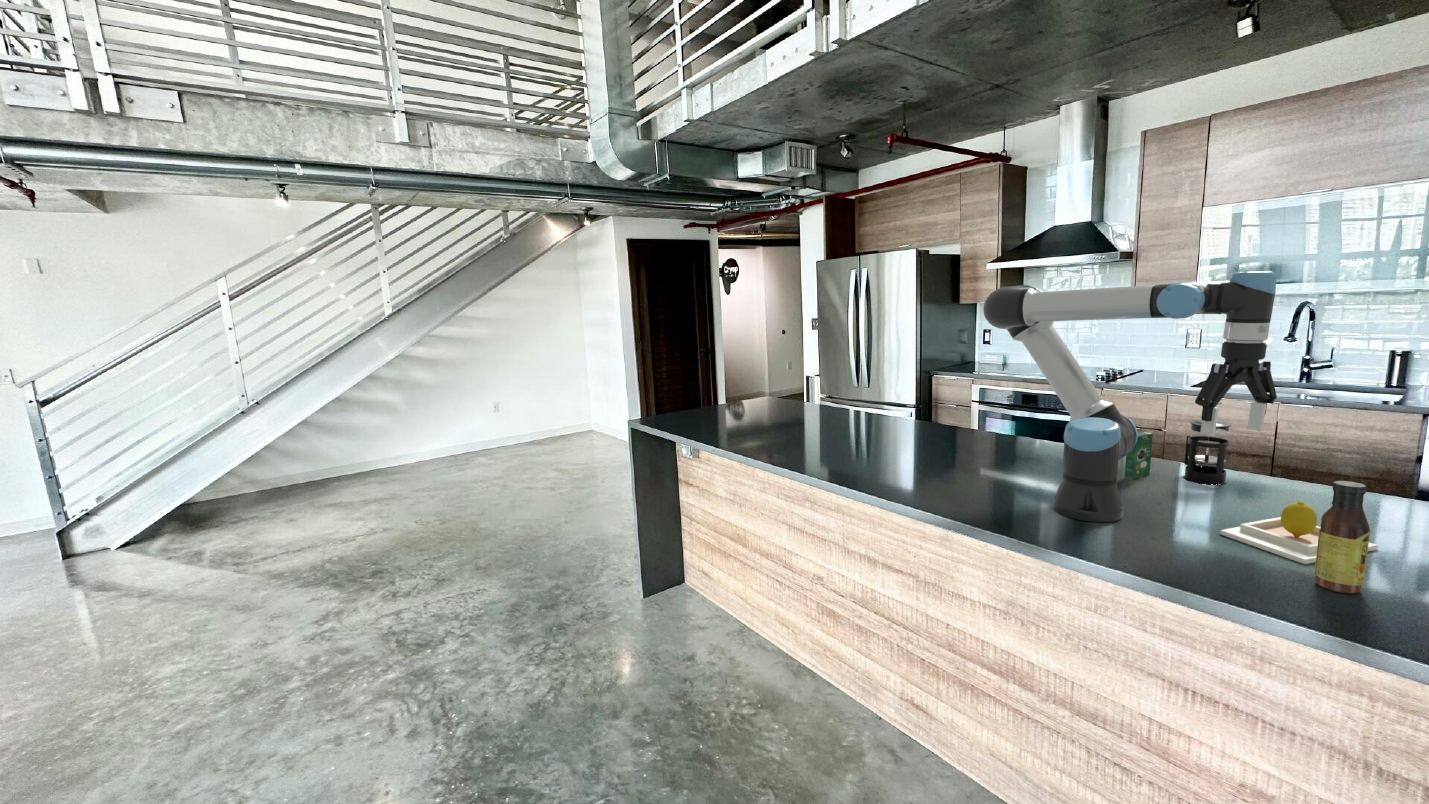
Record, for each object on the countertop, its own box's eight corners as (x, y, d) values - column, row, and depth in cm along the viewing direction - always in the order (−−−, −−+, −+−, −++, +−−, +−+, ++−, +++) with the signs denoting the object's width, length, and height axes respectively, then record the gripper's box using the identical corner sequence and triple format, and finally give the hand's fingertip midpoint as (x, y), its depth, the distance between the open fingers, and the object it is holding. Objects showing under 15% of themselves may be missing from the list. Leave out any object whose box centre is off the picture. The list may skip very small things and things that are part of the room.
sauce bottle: (1368, 598, 104) (1384, 492, 100) (1318, 591, 107) (1333, 487, 103) (1353, 582, 109) (1369, 481, 105) (1307, 575, 112) (1320, 477, 109)
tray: (1304, 564, 117) (1306, 552, 116) (1220, 534, 132) (1221, 523, 132) (1377, 549, 121) (1379, 538, 121) (1287, 522, 136) (1288, 512, 136)
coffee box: (1140, 472, 176) (1143, 430, 173) (1150, 475, 173) (1154, 432, 171) (1123, 477, 173) (1126, 434, 170) (1133, 480, 170) (1136, 436, 168)
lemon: (1308, 544, 123) (1313, 508, 121) (1273, 535, 127) (1278, 500, 126) (1319, 538, 125) (1324, 502, 124) (1285, 529, 130) (1289, 495, 129)
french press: (1237, 485, 161) (1246, 403, 157) (1204, 487, 161) (1212, 405, 157) (1201, 472, 173) (1208, 396, 169) (1170, 474, 173) (1177, 398, 169)
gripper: (1216, 345, 126) (1203, 440, 130) (1307, 339, 130) (1292, 431, 135) (1183, 342, 133) (1171, 432, 137) (1270, 337, 138) (1256, 424, 142)
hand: (1231, 432), depth 136 cm, fingers open, 13 cm apart
